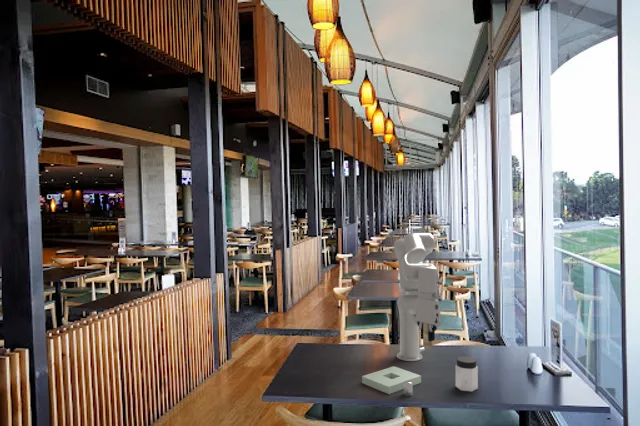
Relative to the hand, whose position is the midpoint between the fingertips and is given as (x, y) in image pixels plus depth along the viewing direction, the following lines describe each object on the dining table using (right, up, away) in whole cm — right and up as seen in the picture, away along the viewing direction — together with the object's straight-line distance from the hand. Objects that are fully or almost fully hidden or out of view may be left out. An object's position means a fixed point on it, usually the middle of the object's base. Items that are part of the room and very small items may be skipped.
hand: (427, 339), depth 200 cm
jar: (+17, -21, +2) cm, 27 cm away
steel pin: (-9, -21, -4) cm, 24 cm away
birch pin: (0, -3, 0) cm, 3 cm away
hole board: (-14, -21, +8) cm, 27 cm away
